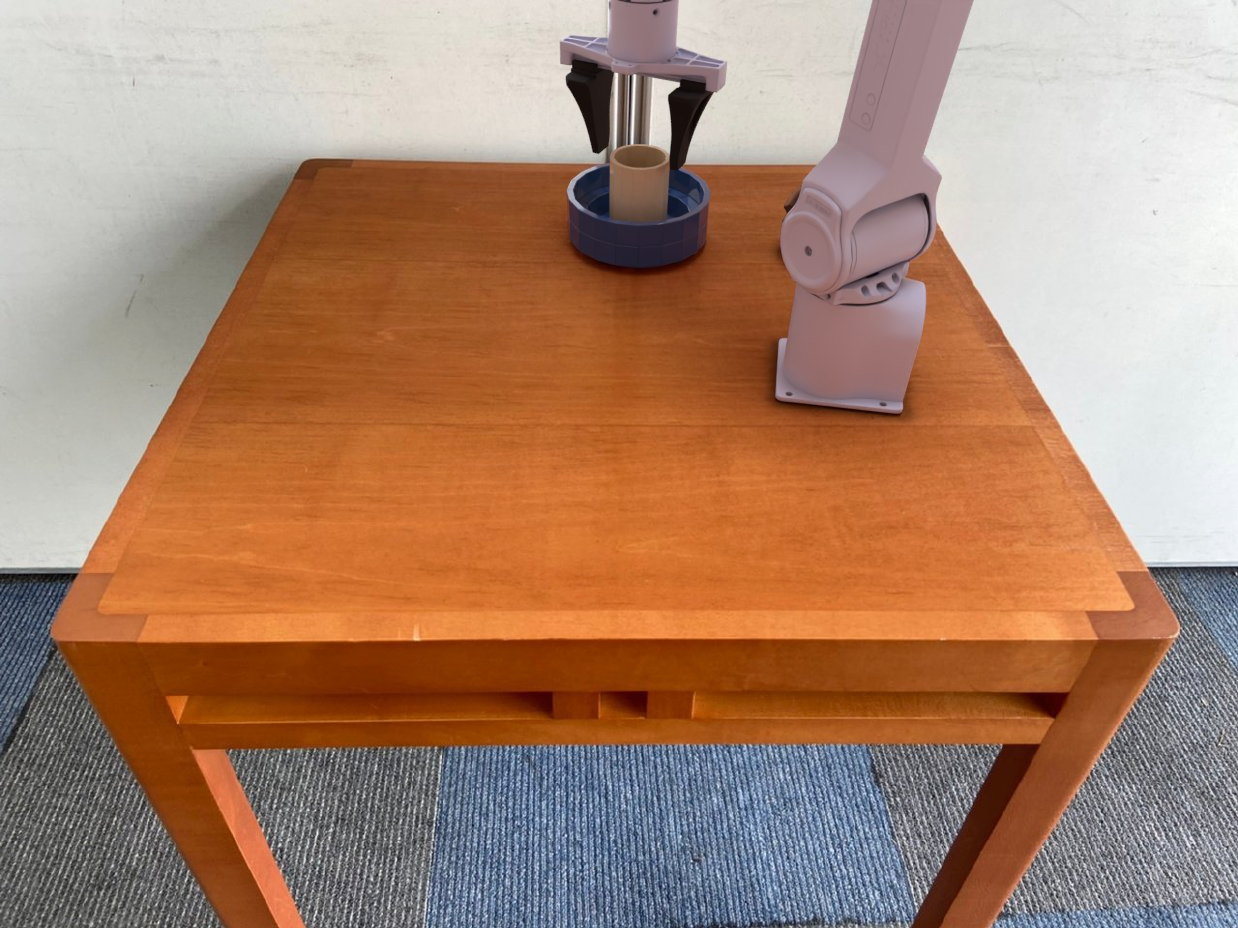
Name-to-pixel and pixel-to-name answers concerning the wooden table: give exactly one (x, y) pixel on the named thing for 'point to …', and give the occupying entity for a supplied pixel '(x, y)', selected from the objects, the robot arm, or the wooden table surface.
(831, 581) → the wooden table surface
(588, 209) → the bowl
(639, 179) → the cup
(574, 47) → the robot arm
